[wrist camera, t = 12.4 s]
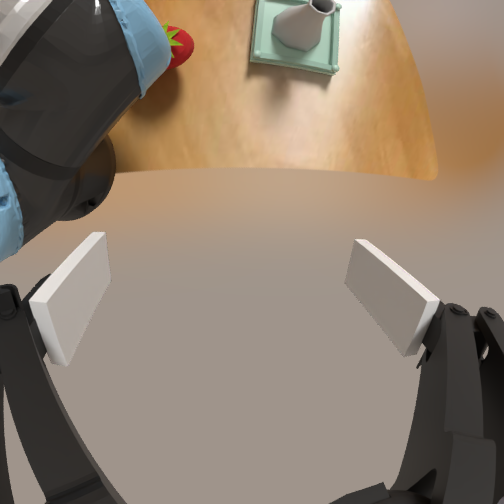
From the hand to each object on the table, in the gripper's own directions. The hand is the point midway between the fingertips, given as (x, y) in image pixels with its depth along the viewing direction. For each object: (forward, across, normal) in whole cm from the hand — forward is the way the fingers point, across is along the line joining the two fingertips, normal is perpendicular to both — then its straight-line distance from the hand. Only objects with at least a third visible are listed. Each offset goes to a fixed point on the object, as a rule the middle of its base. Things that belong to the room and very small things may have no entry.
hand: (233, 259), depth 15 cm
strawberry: (+27, -8, +17) cm, 33 cm away
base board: (+27, +9, +23) cm, 36 cm away
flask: (+26, +9, +23) cm, 36 cm away
